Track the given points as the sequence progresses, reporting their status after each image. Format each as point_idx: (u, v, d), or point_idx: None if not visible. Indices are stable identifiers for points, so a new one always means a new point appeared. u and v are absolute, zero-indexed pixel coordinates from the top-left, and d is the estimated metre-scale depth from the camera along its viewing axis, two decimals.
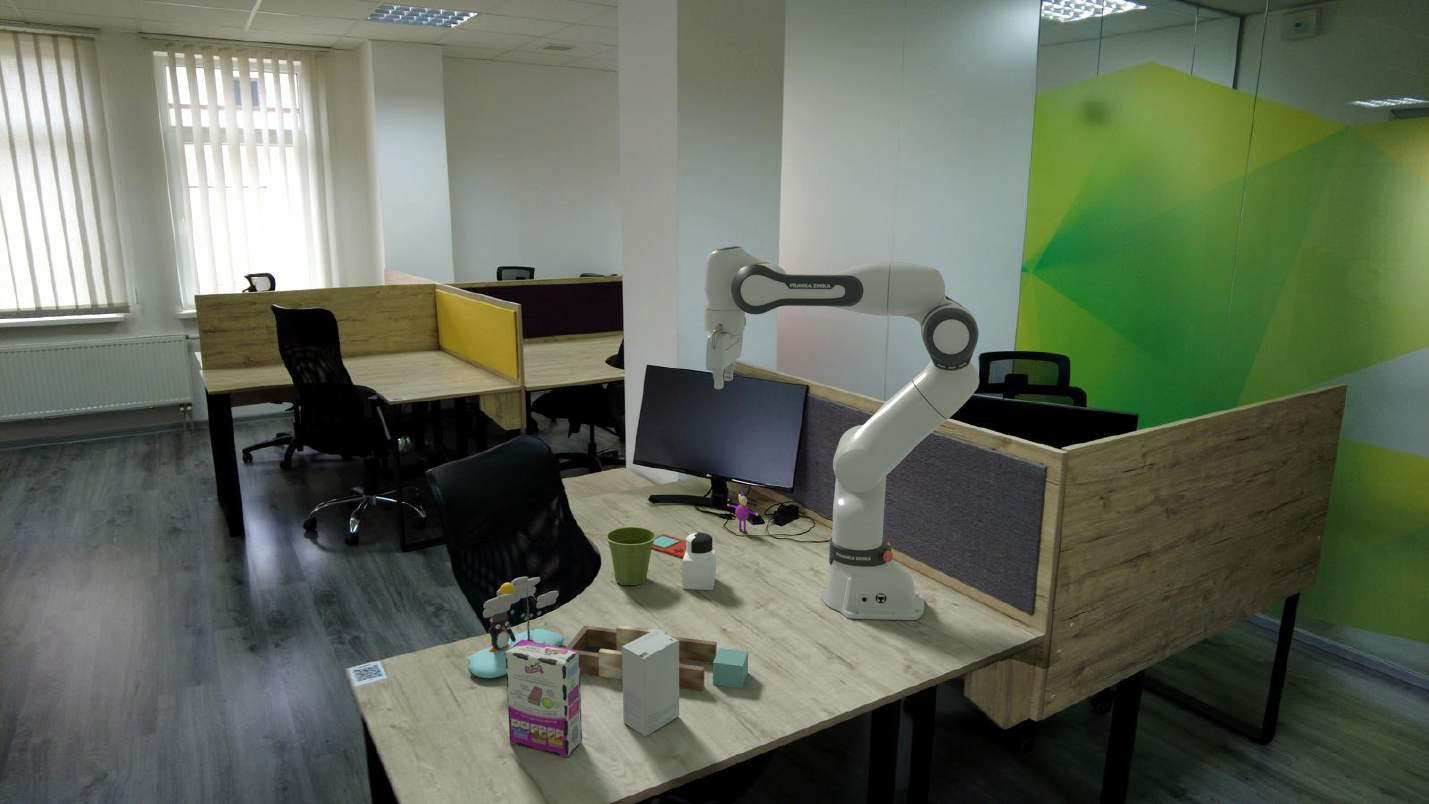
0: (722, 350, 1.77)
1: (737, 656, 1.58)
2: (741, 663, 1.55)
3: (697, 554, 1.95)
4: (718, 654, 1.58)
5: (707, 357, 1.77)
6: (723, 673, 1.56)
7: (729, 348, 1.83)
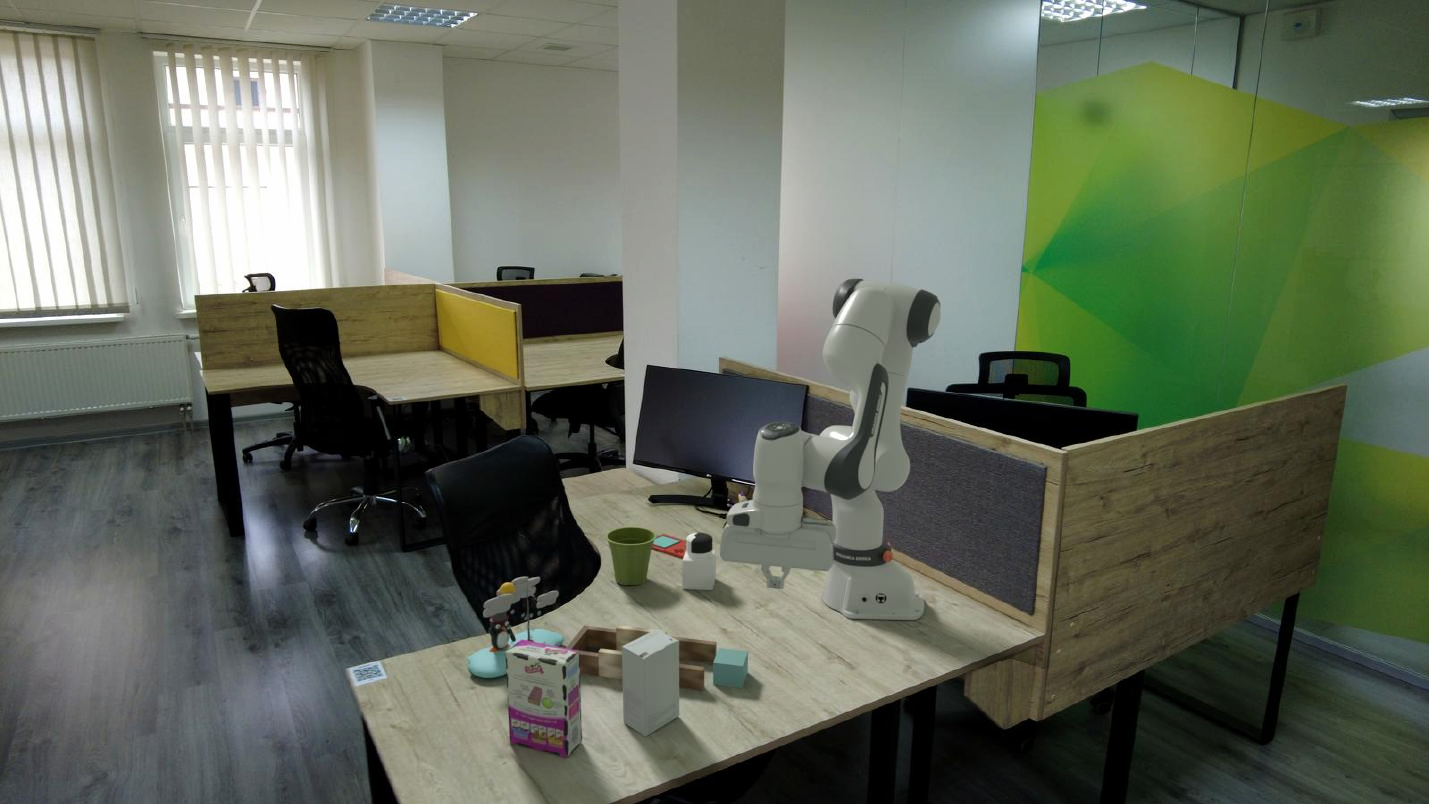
0: None
1: (737, 656, 1.58)
2: (741, 663, 1.55)
3: (697, 554, 1.95)
4: (718, 654, 1.58)
5: (831, 556, 1.48)
6: (723, 673, 1.56)
7: None
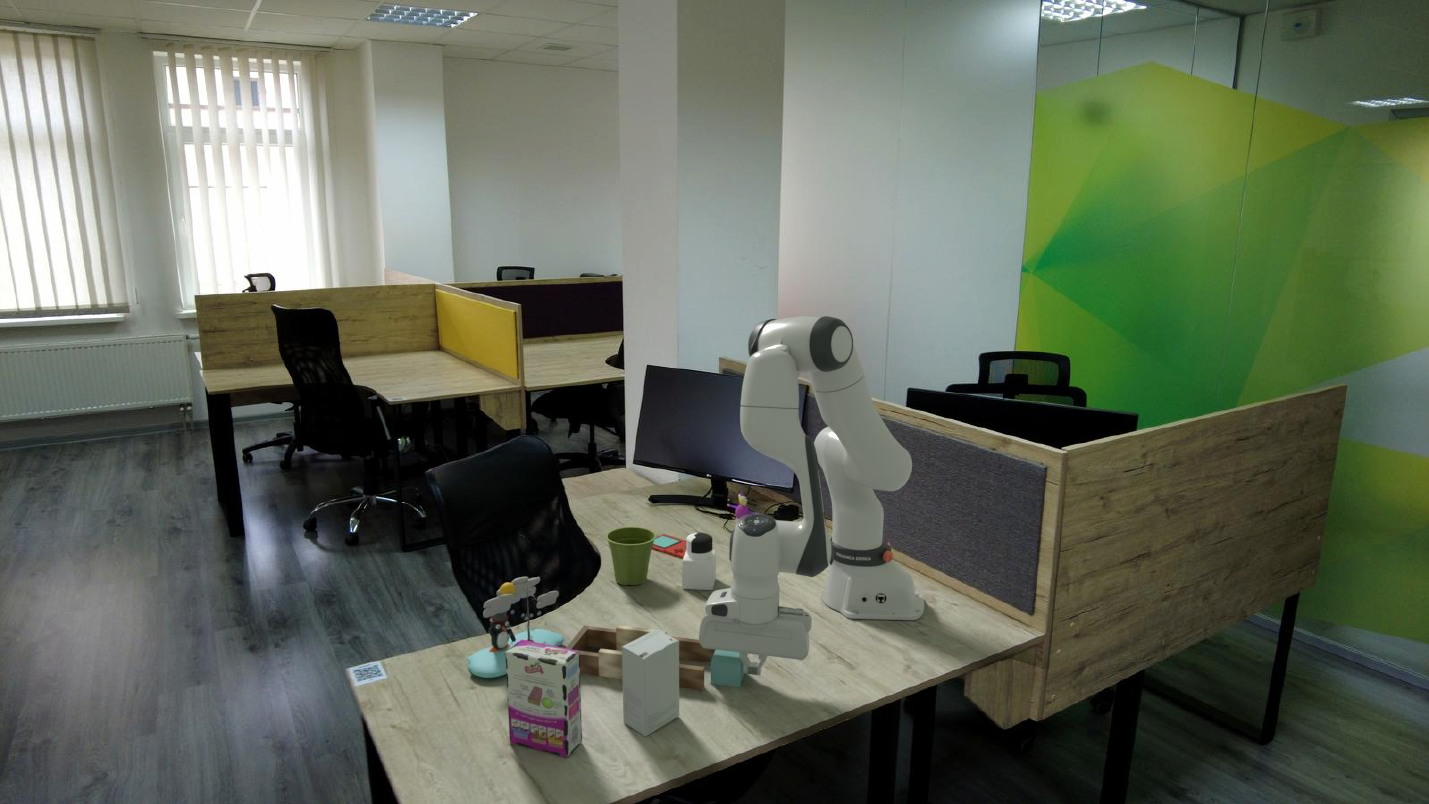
0: None
1: (735, 655, 1.58)
2: (739, 662, 1.55)
3: (697, 554, 1.95)
4: (715, 653, 1.58)
5: (807, 645, 1.52)
6: (720, 672, 1.56)
7: None
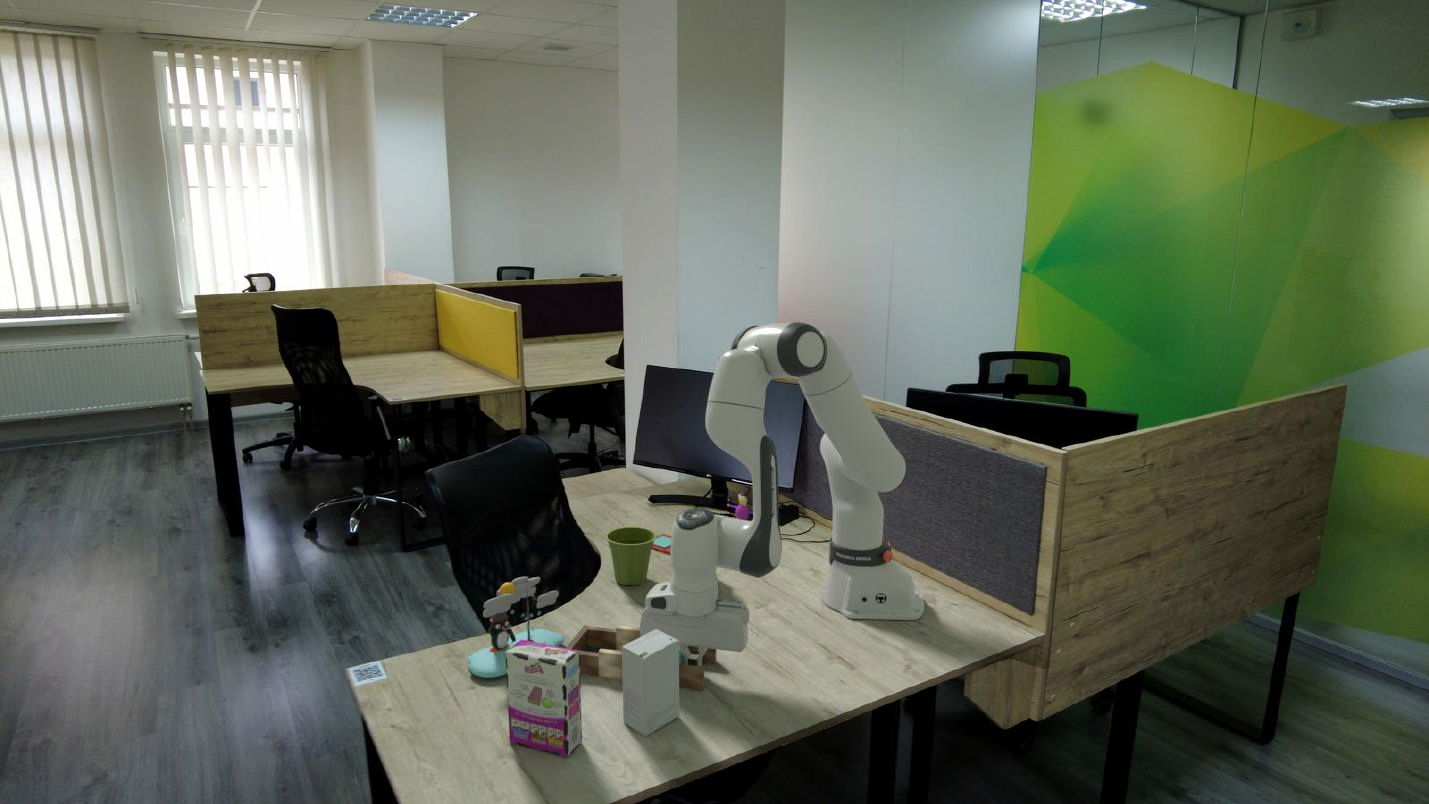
0: None
1: None
2: None
3: None
4: None
5: (744, 638, 1.55)
6: None
7: None
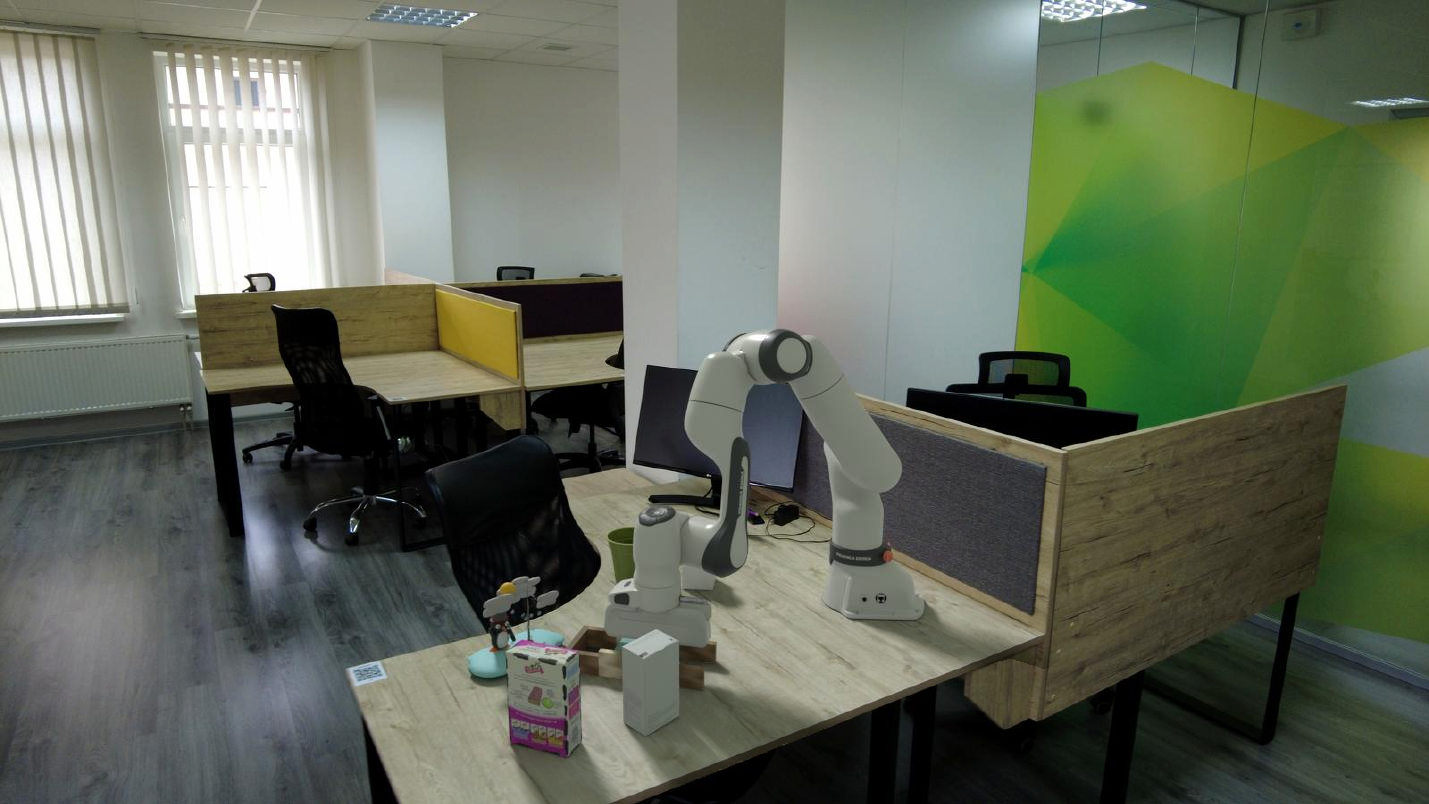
0: None
1: None
2: None
3: None
4: (621, 641, 1.63)
5: (706, 633, 1.56)
6: None
7: None
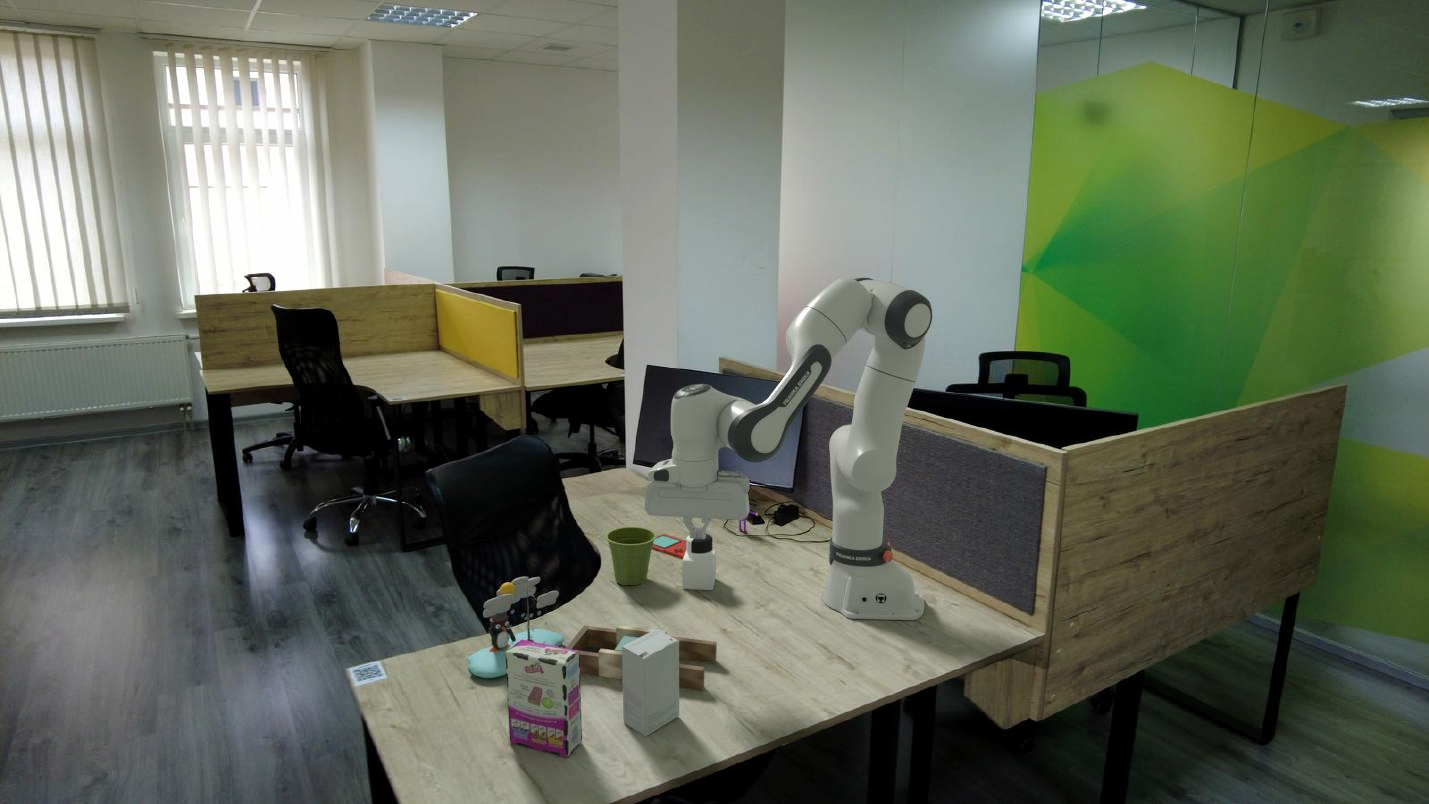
0: None
1: None
2: None
3: (697, 554, 1.95)
4: (621, 642, 1.63)
5: (745, 505, 1.60)
6: None
7: None
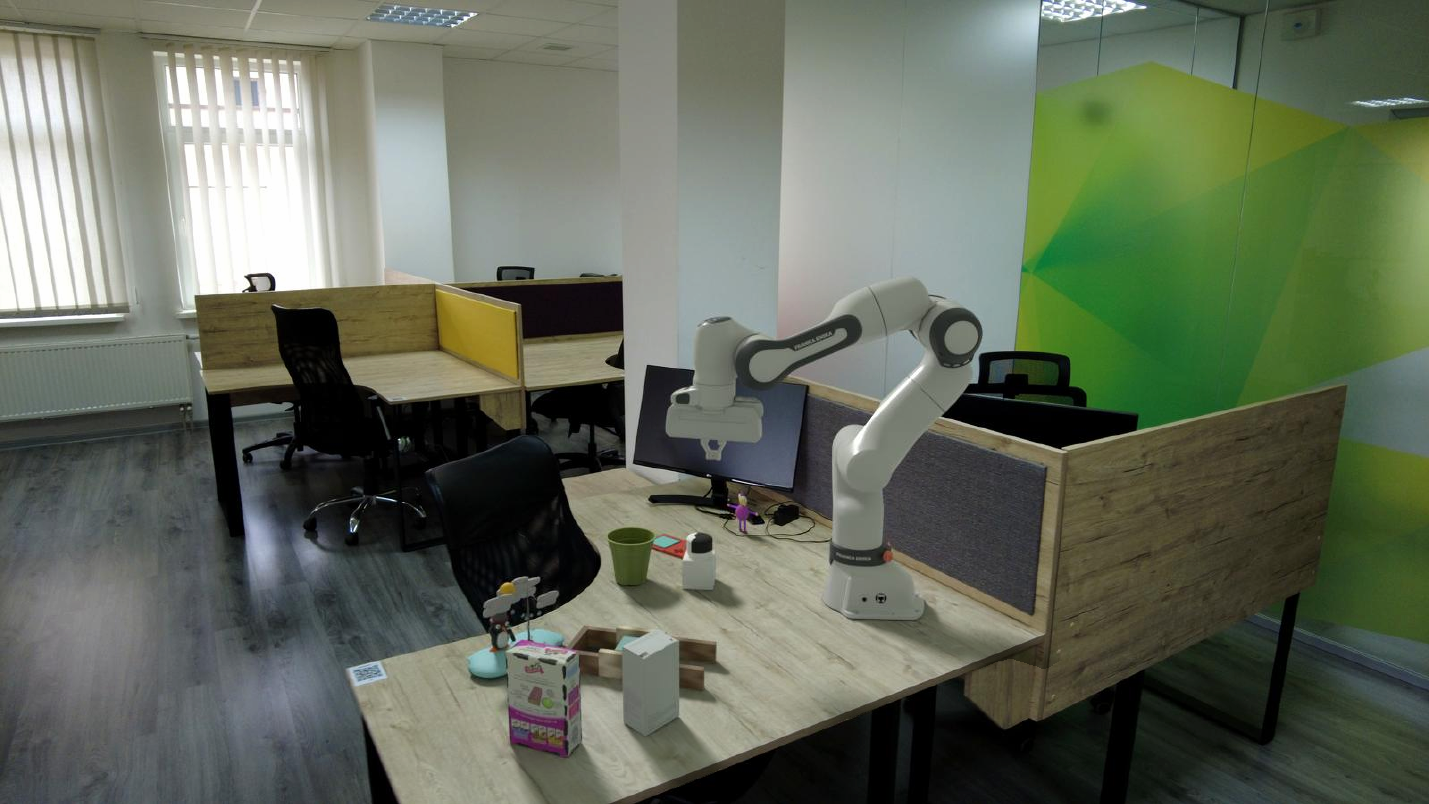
0: None
1: None
2: None
3: (697, 554, 1.95)
4: (621, 642, 1.63)
5: (759, 429, 1.74)
6: None
7: None
